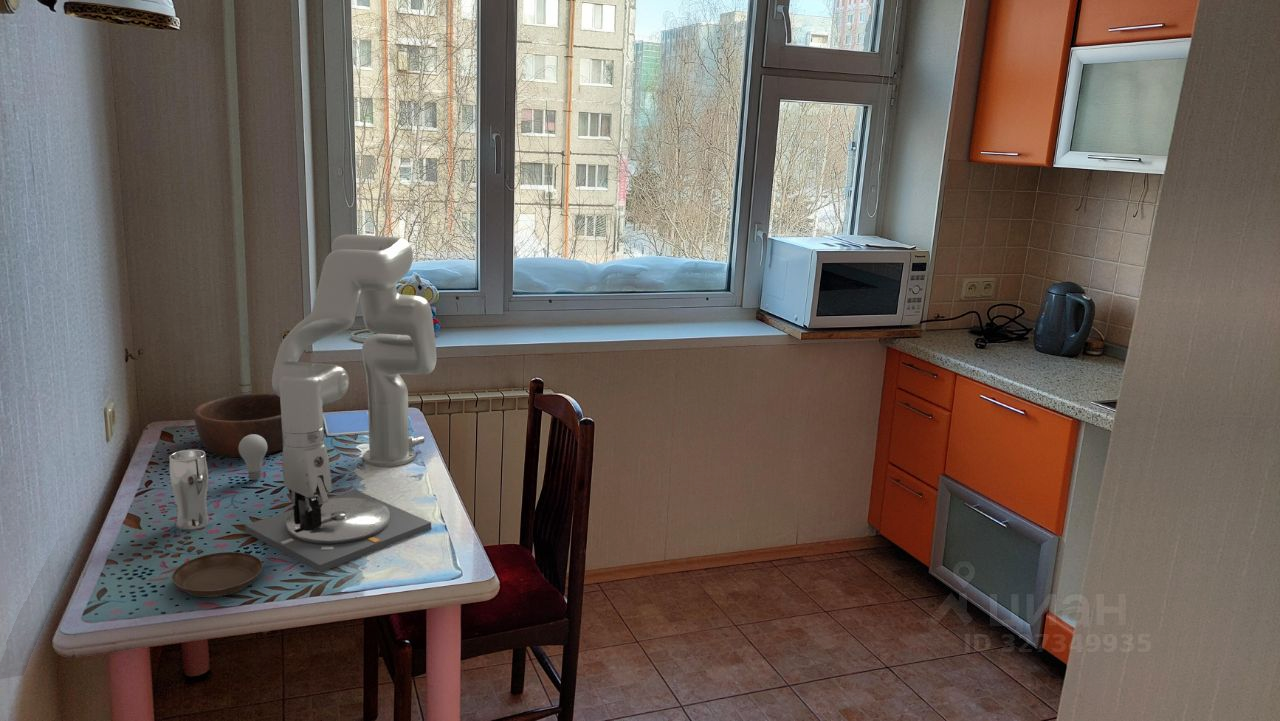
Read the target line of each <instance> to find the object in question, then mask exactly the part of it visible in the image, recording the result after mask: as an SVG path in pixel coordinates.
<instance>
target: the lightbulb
mask: <svg viewBox="0 0 1280 721" xmlns="http://www.w3.org/2000/svg"><path fill="white" fill-rule="evenodd" d="M238 448H239V453H240V455H241V456H242V457H241V459H242V460H244V462H245V466H246V469H247V471H248V478H249V480H252V481H255V482H256V481H258V480H259V479H260V478H261V477H262V471H261V470H262V467H263V461H264V458H265V456H266V455H267V454H266V452H267V448H268V447H267V442H266V440H265V439H264V438H263V437H261V436H259V435H256V434H251V435H248V436H246V437H244V438H243V439H242V440H241V441H240V443H239V447H238ZM265 454H266V455H265Z"/></svg>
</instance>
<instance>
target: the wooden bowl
mask: <svg viewBox="0 0 1280 721" xmlns="http://www.w3.org/2000/svg"><path fill="white" fill-rule="evenodd" d="M193 419H194V424H195V428H196V432H197V434H198V437H199V439H200V441H201V443H202V444H203V446H204V447H205V448H206V449H207V450H208V452H210V453H212V454H214V455H217V456H220V457H228V458H242V456H241V455H240V453H239V448H238V447H239V443H240V441H241V440H242V439H243V438H244V437H246V436H248V435H251V434H256V435H259V436H261V437H263V438H264V439H265V440H266V442H267V447H268V448H267V452H266V454H265V456H266V455H270V454H274V453H277V452H280V451H283V438H282V420H281V403H280V397H279V396H277V395H276V393H245V394H244V393H243V394H233V395H229V396H228V395H227V396H223V397H219V398H215V399H211V400H209V401H206V402H204V403H201V404H200V405H198V406H196V408H194V410H193Z"/></svg>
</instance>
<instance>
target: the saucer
mask: <svg viewBox="0 0 1280 721" xmlns="http://www.w3.org/2000/svg"><path fill="white" fill-rule="evenodd" d="M263 566H264V564H263V562H262V560H261V559H260V558H259V557H258V556H255V555H253V554H250V553H246V552H239V551H223V552H222V551H221V552H215V553H209V554H204V555H199V556H197V557H195V558H192V559H190V560H187V561H186V562H184V563H182V564H181V565H178V567H176V568H175V570H174V571H173V572H172V575H171V581H172V582H173V584H174V585H176V587H177V588H179V589H180V590H181V591H183V592H184V593H187V594H189V595H192V596H194V597H200V598H219V597H223V595H224V596H229V595H232V594H235V593H237V592H240V591H242V590H243V588H244V589H245V588H247V587H248V586H249V585H250V584H252V583H253V582H254V581H255V580H256V579H257V578H258V576H260V573H261V572H262V570H263V568H264V567H263ZM239 590H240V591H239ZM228 594H229V595H228ZM218 596H219V597H218Z"/></svg>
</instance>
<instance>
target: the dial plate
mask: <svg viewBox="0 0 1280 721" xmlns="http://www.w3.org/2000/svg"><path fill="white" fill-rule="evenodd" d="M335 498H362V499H369V500H373V501H376V502H379V503H381V504H383V505H385V506H386V507H387V508H388V510H389V512H390V521H389V523H388V525H387V526H386V527H385V528H384V529H383V530H381V531H380V532H378V533H376V534H374V535H372V536H370V537H367V538H364V539H360V540H356V541H351V542H345V543H335V544H319V543H310V542H305V541H301V540H298V539H296V538H294V537H292V536H291V535H290V534H289V533H288V531H287V527H286V520H287V518H288V516H289V515H290V514H291V513H292V512H294V508H292V509H290V510H287V511H284V512H281V513H278V514H275V515H272V516H269V517H266V518H262V519H259V520H256V521H253V522H249V523H248V524H247V523H246V524H244V532H245V533H246V534H248V535H250V536H252V537H254V538H255V539H258V540H260V541H261V542H263V543H265V544H267V545H269V546H270V547H272V548H274V549H276V550H278V551H280V552H281V553H283V554H285V555H287V556H289V557H291V558H292V557H293V558H292V559H294V558H295V560H296V561H298V562H300V563H302V564H303V565H305V564H306V566H308V567H309V568H310V569H313V570H315V571H316V572H318V571H319V573H322V572H323V573H324V572H325V571H327V570H330V569H332V568H336V567H339V566H340V565H343V564H345V563H346V564H347V563H348V562H351V561H353V560H355V559H358V558H361V557H364V556H366V555H368V554H371V553H374V552H376V551H379V550H382V549H384V548H387V547H389V546H391V545H395V544H397V543H399V542H403V541H405V540H406V539H410V538H413V537H415V536H417V535H420V534H422V533H424V532H427V531H431V530H432V521H429V520H427V519H424V518H422V517H420V516H418V515H415V514H413V513H410V512H408V511H406V510H404V509H401V508H398V507H396V506H394V505H392V504H389V503H387V502H385V501H383V500H381V499H378V498H376V497H373V496H371V495H369V494H366V493H364V492H362V491H359V490H357V489H353V490H349V491H346V492H343V493H339V494H337V495H334V496H331V497H328V499H335Z"/></svg>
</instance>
